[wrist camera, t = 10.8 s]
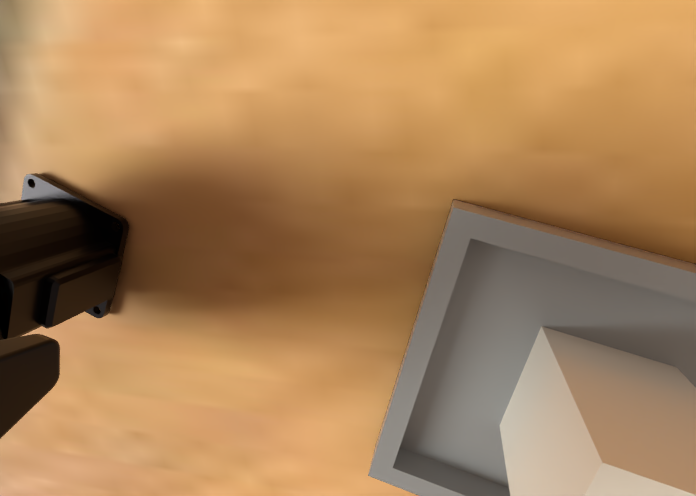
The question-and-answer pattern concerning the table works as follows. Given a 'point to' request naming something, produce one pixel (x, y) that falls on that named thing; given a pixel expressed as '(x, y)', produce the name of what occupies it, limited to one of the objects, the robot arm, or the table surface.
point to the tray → (515, 338)
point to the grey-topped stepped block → (598, 423)
